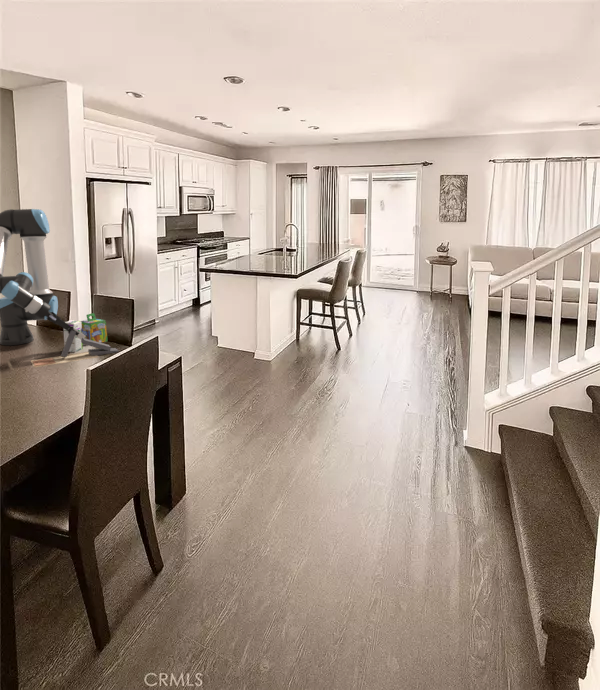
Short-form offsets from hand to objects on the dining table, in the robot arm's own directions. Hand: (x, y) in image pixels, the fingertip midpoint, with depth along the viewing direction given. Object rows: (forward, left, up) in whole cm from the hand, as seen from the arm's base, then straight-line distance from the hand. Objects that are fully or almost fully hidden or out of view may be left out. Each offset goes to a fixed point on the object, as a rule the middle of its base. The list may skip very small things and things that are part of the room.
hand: (81, 336), depth 246 cm
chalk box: (-12, +8, -7) cm, 16 cm away
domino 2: (+12, -2, +1) cm, 12 cm away
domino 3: (+12, 0, -5) cm, 13 cm away
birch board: (+12, -10, -7) cm, 17 cm away
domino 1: (+12, -11, -5) cm, 17 cm away
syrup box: (-1, -4, -7) cm, 8 cm away
